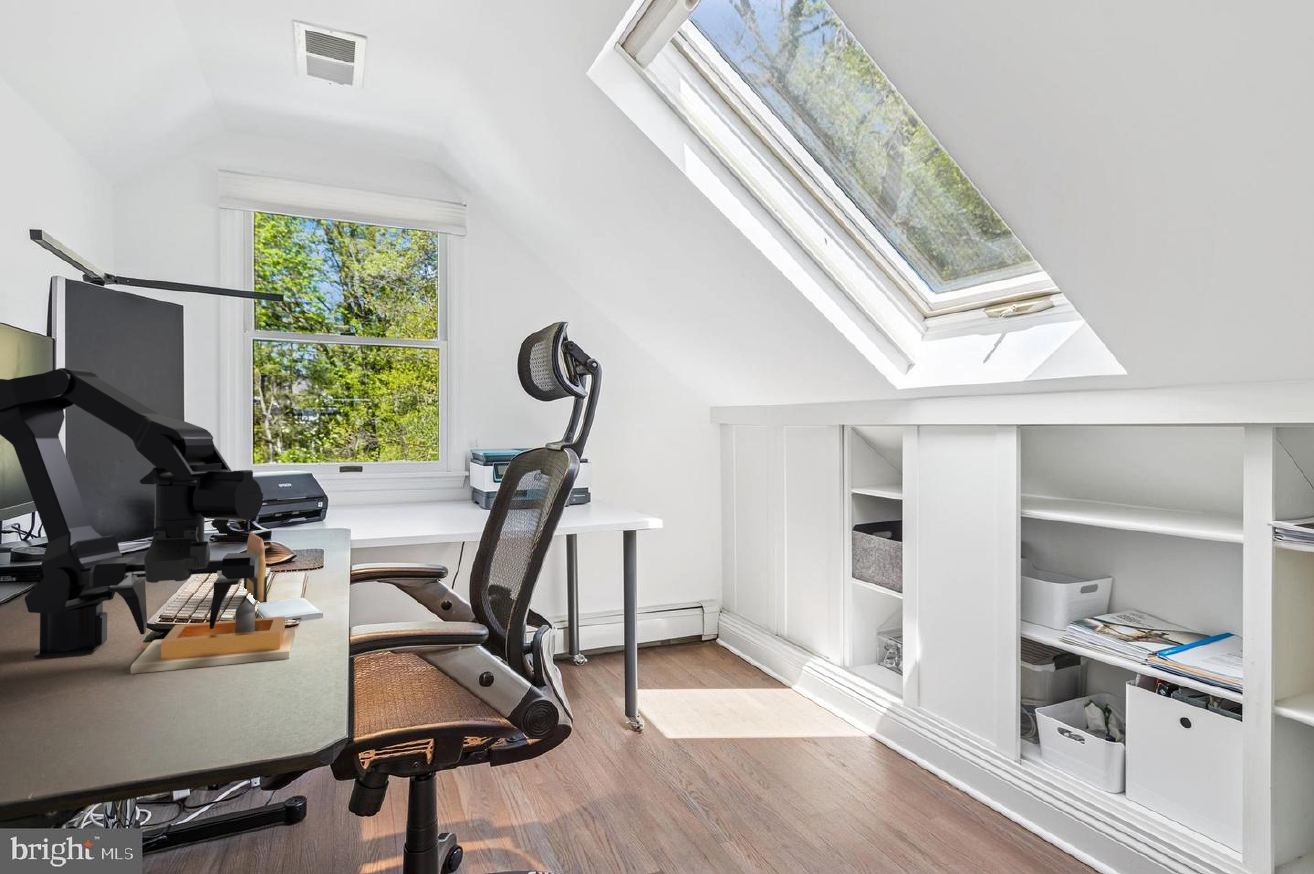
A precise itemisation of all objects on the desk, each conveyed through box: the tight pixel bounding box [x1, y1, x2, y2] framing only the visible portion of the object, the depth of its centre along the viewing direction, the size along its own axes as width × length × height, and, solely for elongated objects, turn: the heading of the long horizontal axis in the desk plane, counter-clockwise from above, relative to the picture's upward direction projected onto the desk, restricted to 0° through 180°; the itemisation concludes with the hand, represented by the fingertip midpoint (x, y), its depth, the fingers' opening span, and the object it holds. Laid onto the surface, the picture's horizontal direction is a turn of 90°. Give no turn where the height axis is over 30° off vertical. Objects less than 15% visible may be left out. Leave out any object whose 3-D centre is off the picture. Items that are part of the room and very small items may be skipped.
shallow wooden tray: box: [161, 616, 286, 660], centre depth 100 cm, size 14×9×2 cm, turn 114°
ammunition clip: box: [243, 531, 268, 603], centre depth 129 cm, size 11×2×12 cm, turn 40°
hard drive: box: [257, 597, 324, 622], centre depth 121 cm, size 2×8×12 cm
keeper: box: [130, 602, 296, 675], centre depth 100 cm, size 18×12×7 cm, turn 114°
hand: (178, 631), depth 98 cm, fingers open, 8 cm apart
